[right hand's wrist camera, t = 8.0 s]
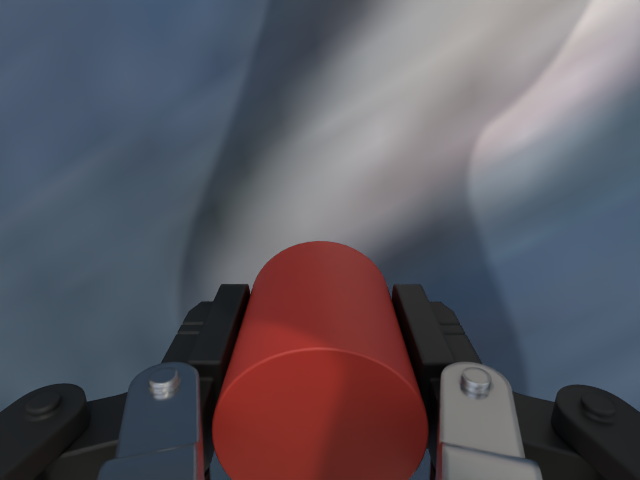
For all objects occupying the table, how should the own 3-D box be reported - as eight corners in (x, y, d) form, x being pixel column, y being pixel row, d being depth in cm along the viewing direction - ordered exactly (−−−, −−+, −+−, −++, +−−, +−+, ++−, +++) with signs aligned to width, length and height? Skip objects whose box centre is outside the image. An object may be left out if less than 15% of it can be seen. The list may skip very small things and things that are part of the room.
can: (344, 214, 12) (360, 308, 7) (413, 323, 13) (465, 466, 8) (223, 284, 12) (165, 411, 8) (299, 382, 14) (289, 541, 9)
